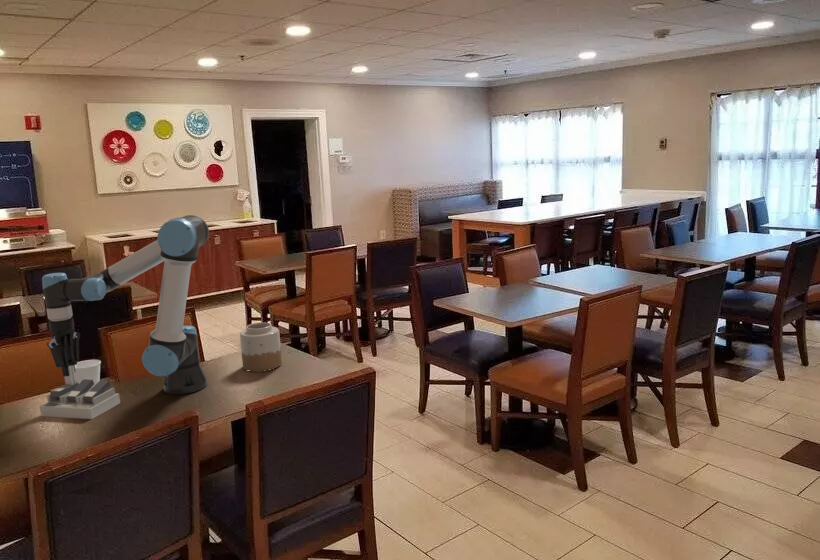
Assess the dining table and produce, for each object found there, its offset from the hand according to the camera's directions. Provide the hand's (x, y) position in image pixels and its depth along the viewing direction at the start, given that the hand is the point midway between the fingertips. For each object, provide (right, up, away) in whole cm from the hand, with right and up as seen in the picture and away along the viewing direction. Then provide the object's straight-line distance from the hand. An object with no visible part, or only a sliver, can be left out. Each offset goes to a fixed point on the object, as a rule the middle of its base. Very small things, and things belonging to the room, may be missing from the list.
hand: (71, 383), depth 224 cm
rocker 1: (-1, -2, -3) cm, 3 cm away
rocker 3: (+12, -2, -6) cm, 14 cm away
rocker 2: (+6, -2, -4) cm, 7 cm away
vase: (+59, +1, +33) cm, 68 cm away
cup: (+1, -5, +12) cm, 13 cm away
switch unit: (+6, -8, -4) cm, 11 cm away
